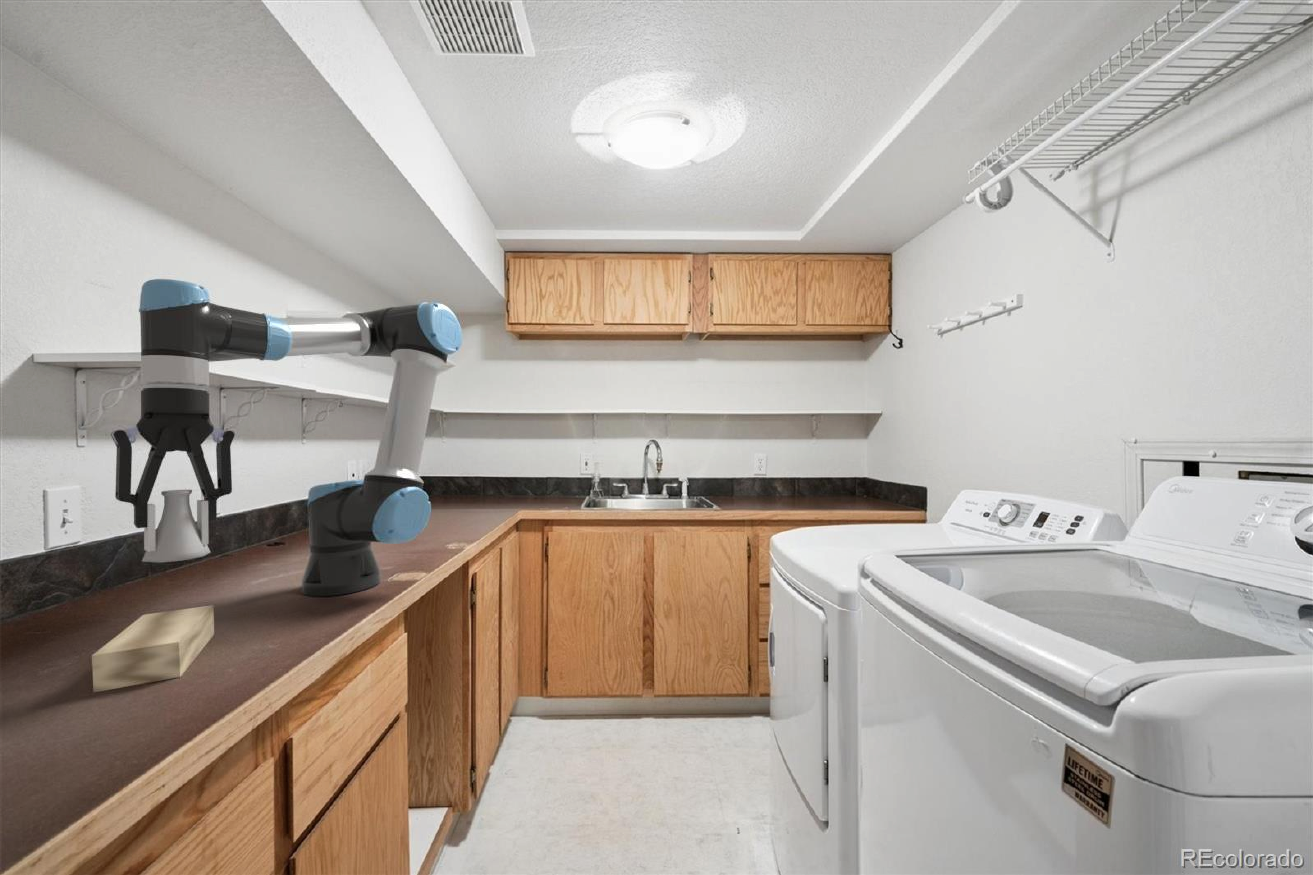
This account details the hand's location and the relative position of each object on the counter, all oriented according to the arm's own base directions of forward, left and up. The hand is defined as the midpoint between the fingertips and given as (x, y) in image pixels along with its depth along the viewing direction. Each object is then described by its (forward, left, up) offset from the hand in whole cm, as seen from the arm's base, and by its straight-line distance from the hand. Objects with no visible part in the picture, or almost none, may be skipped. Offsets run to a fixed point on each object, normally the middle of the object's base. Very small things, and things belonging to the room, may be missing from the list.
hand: (177, 546), depth 79 cm
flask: (0, 0, -2) cm, 2 cm away
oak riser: (+4, -5, -18) cm, 19 cm away
